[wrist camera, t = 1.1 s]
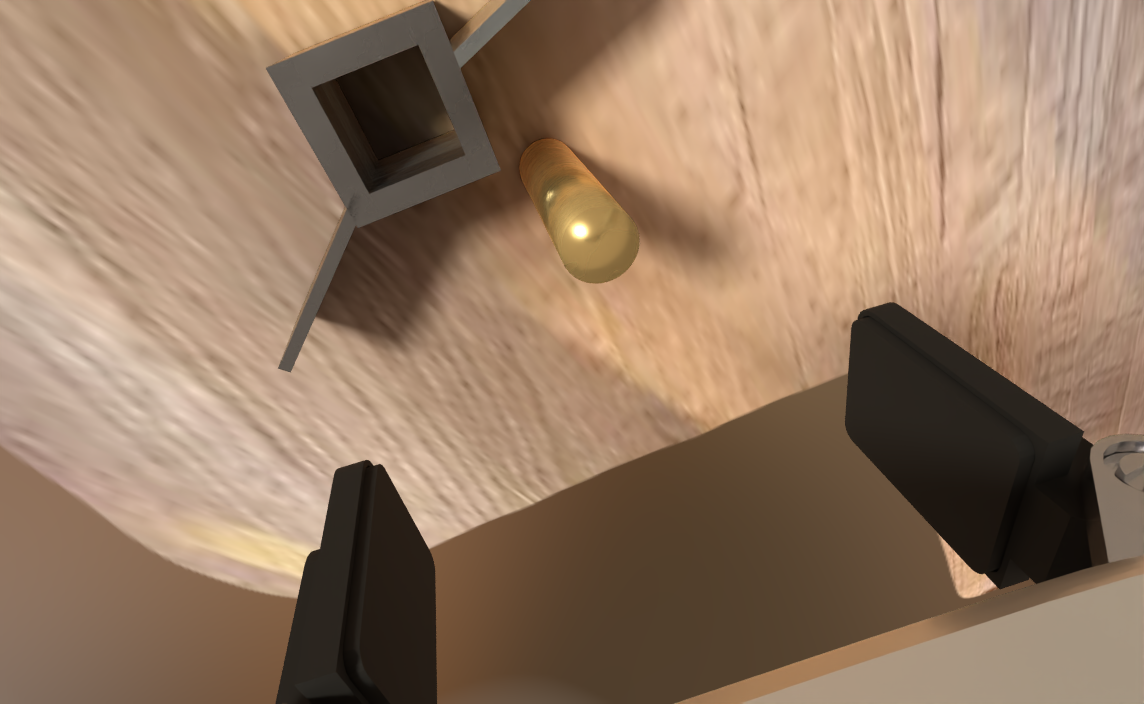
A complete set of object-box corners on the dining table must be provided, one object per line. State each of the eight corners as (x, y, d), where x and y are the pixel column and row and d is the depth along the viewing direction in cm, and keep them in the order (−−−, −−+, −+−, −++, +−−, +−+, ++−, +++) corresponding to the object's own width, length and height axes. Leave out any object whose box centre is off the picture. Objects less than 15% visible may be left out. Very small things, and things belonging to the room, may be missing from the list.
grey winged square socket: (572, -79, 28) (604, -93, 23) (641, 183, 35) (677, 216, 30) (145, 93, 28) (83, 117, 23) (303, 319, 35) (283, 375, 30)
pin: (565, 129, 32) (627, 193, 22) (582, 183, 34) (648, 265, 24) (510, 151, 32) (548, 225, 22) (531, 204, 34) (574, 295, 24)
